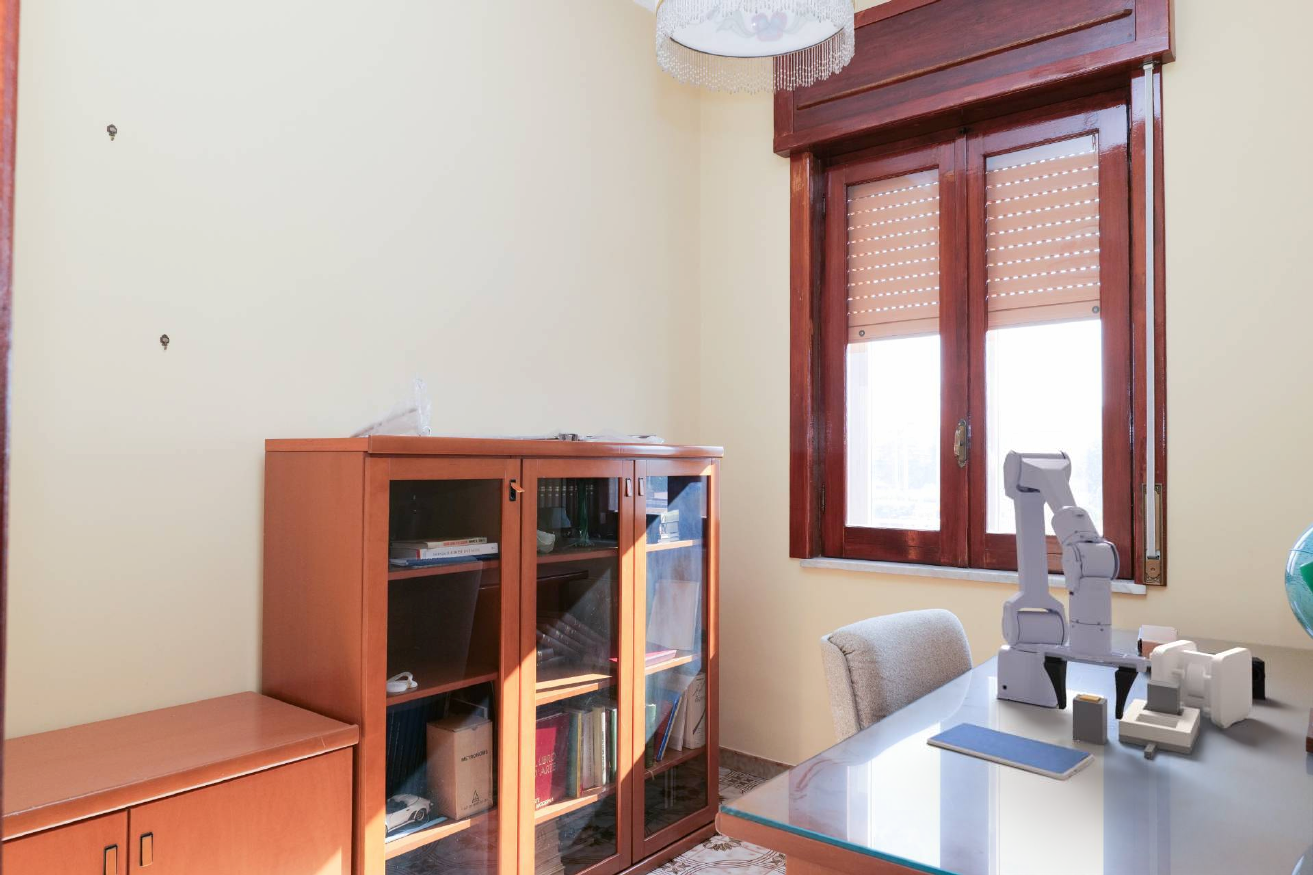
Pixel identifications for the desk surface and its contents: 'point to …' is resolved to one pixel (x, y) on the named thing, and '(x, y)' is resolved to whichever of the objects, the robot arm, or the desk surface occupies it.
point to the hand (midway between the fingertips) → (1090, 712)
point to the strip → (1160, 720)
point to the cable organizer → (1207, 679)
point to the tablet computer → (1013, 750)
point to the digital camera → (1257, 678)
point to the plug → (1090, 719)
